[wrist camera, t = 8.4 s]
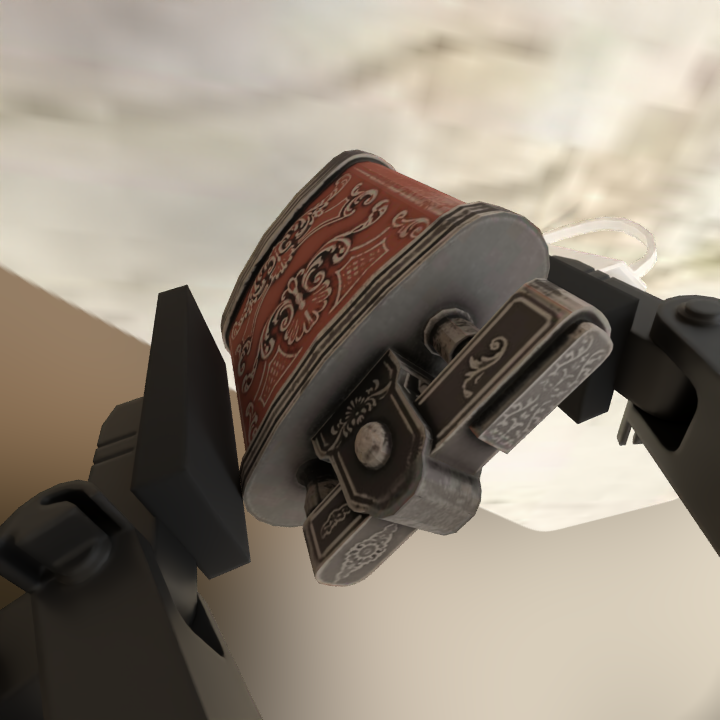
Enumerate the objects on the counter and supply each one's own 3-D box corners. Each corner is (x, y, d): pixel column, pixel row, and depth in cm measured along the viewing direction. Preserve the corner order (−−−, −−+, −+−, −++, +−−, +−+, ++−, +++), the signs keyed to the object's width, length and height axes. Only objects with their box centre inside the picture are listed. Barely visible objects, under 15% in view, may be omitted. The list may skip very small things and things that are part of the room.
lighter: (278, 369, 16) (365, 650, 8) (197, 330, 14) (207, 650, 6) (415, 195, 14) (705, 345, 6) (342, 121, 12) (630, 202, 4)
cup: (427, 263, 25) (509, 327, 18) (567, 157, 24) (702, 186, 17) (467, 336, 29) (544, 408, 23) (586, 249, 28) (700, 298, 22)
